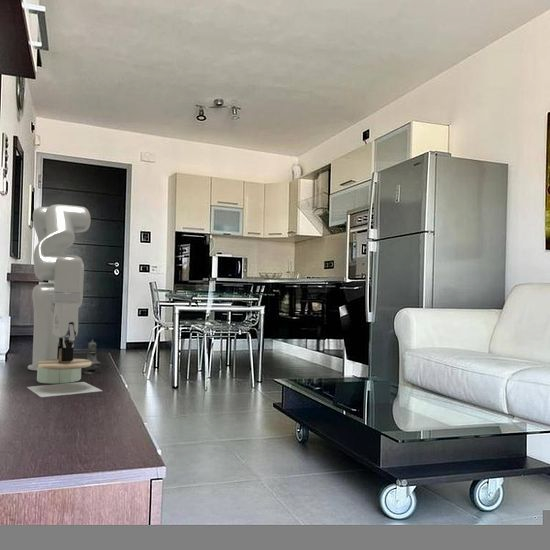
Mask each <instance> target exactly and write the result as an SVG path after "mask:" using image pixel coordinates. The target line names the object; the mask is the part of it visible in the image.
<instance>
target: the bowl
mask: <svg viewBox="0 0 550 550" xmlns="http://www.w3.org/2000/svg"><path fill="white" fill-rule="evenodd" d="M36 372H37V373H36V381H37V382H38V383H41V384H66V383H76V382H80V380H81V379H82V368H79V369H66V370H54V369H43V368H39V367H37V371H36Z"/></svg>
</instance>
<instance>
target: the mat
mask: <svg viewBox="0 0 550 550" xmlns="http://www.w3.org/2000/svg"><path fill="white" fill-rule="evenodd" d="M26 388H27V389H29V390H30V391H31V392H33V393H34V394H35V395H37V396H38V397H40V398H48V397H57V396H59V397H60V396H68V395H77V394H79V395H80V394H88V393H89V394H90V393H97V392H103V390H102V389H100V388H98V387H96V386H94V385H92V384H90V383H87V382H85V381H76V382H70V383H54V384H45V385H35V386H34V385H33V386H26Z"/></svg>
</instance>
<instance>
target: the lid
mask: <svg viewBox="0 0 550 550" xmlns="http://www.w3.org/2000/svg"><path fill="white" fill-rule="evenodd" d="M61 353H62V348H61V349H59V359H50V360H44V361H40V362H38V363H37V367H39V368H43V369H54V370H66V369H79V368H81V369H85V367H89V366H91V364H92V362H91V361H90V360H87V358H86V359H85V358H74V357H73V361H64V362H63V361H61Z"/></svg>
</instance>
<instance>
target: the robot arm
mask: <svg viewBox="0 0 550 550" xmlns="http://www.w3.org/2000/svg"><path fill="white" fill-rule="evenodd" d="M32 212H33V213H32V222H33V223H32V224H33V227H34V230H35V233H36V236H37V239H38V241H37V244H36V246H35V248H34V251H33V269H34V270H33V271H34V274H35V277H36V278H37V279H38V280H41V281H50V282H51V281H53V282H51V283H50V282H46V283H45V282H43V283H39V284H37V285H35V286H34V287H33V289H32V293H31V296H32V305H33V334H32V335H33V339H32V340H33V341H32V363H31V364H29V365H27V370H30V371H36V372H37V363H38V362H40V361H44V360H50V359H59V349H61V348H62V353H61V361H63V362H64V361H73V358H74V346H75V343H74V342H75V338H76V337H77V336H78V334H79V308H80V307H82V304H83V299H84V298H83V296H84V280H85V279H84V278H85V276H84V274H85V264H84V261H83V259H82V257H80V256H79V255H76V254H64V250H66V249H68V248H70V247H72V245H74V242H75V241H76V237H75V233H85V232H87V231H88V230H89V228H90V226H91V222H92V220H91V214H90V211H89V210H88V208H86V207H84V206H79V205H70V204H51V205H50V206H39V207H37V208H35V209H34V210H33V211H32Z"/></svg>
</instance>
